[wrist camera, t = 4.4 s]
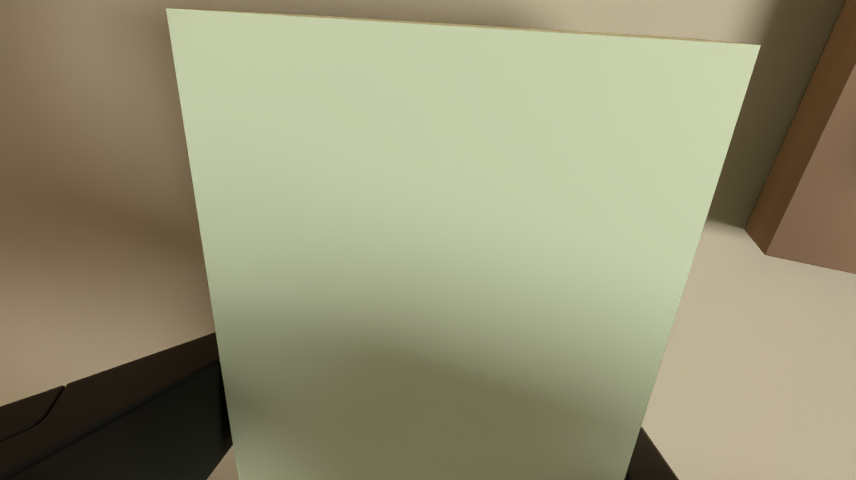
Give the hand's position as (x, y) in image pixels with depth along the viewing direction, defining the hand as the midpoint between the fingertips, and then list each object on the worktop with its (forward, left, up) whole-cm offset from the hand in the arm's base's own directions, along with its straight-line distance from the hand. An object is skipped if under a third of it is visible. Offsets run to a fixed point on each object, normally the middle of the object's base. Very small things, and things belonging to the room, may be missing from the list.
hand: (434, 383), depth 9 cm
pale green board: (0, 0, -1) cm, 1 cm away
